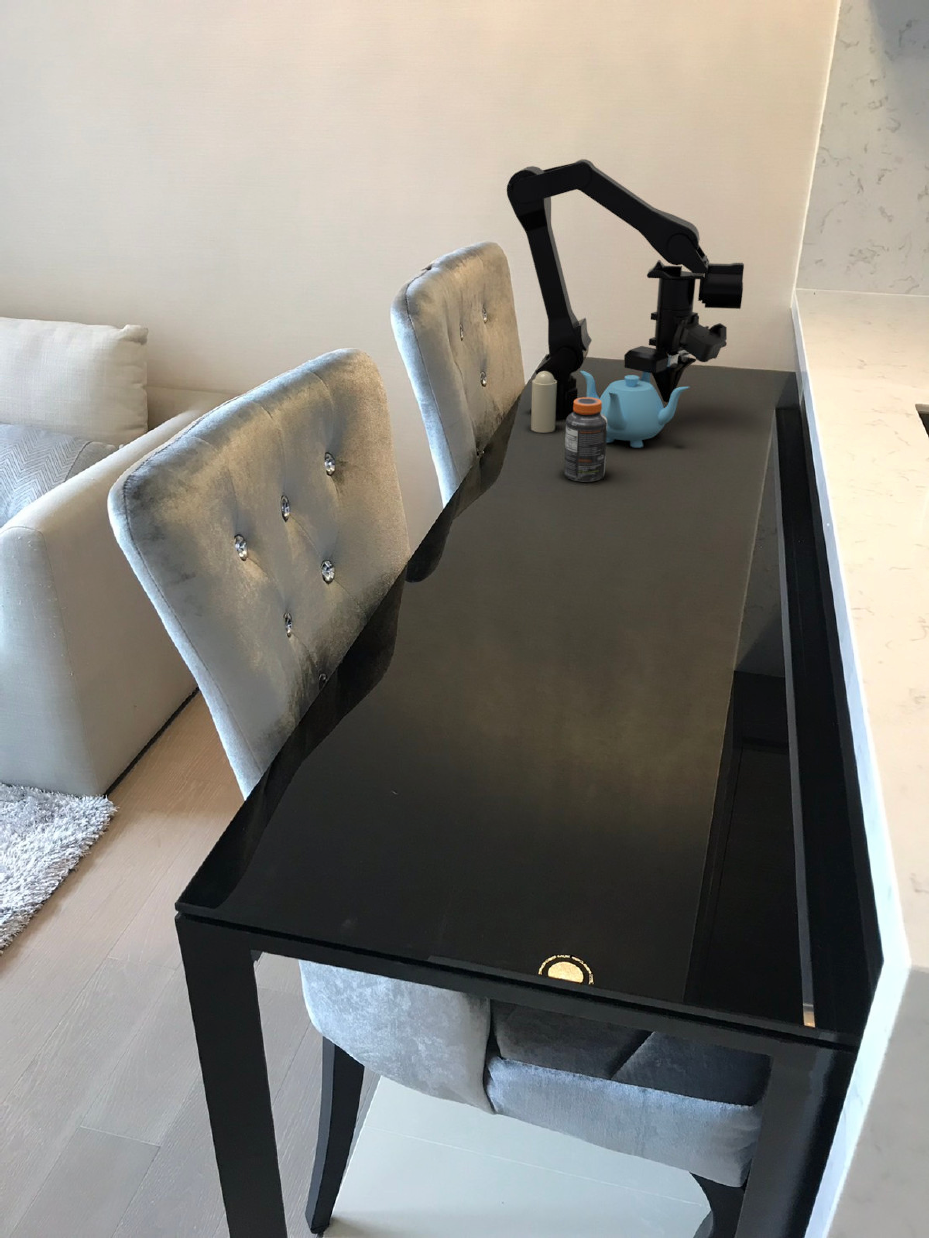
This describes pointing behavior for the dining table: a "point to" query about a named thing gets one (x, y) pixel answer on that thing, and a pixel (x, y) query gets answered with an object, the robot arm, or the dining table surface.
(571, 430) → the pill bottle
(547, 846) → the dining table surface
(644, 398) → the teapot
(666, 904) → the dining table surface
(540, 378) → the salt shaker
